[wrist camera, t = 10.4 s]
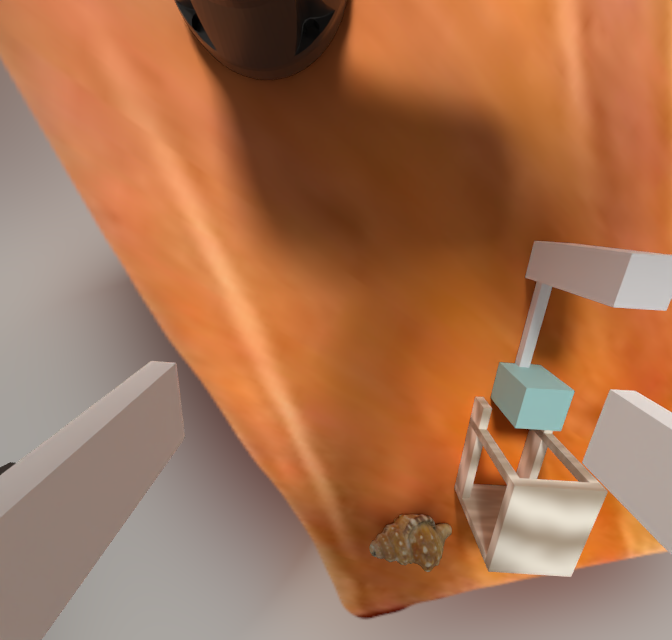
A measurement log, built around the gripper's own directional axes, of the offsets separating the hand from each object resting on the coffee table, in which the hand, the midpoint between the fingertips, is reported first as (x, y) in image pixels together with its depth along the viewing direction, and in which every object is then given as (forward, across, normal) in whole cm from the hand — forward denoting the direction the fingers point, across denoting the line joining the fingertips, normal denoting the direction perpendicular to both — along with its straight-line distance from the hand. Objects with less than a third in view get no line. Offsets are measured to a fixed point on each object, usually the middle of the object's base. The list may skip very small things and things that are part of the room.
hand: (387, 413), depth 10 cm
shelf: (+27, +21, -23) cm, 41 cm away
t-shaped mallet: (+27, +21, -5) cm, 34 cm away
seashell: (+27, +11, -38) cm, 48 cm away
